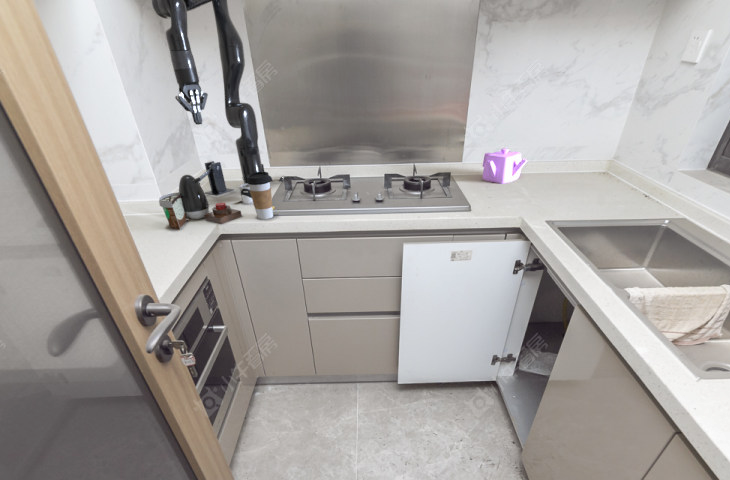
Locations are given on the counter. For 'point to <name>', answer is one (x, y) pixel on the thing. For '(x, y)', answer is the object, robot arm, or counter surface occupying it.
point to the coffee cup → (261, 194)
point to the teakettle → (502, 166)
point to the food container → (174, 210)
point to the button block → (222, 215)
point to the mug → (246, 194)
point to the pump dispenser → (193, 197)
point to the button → (220, 206)
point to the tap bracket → (216, 179)
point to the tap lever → (206, 173)
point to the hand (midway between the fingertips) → (198, 124)
